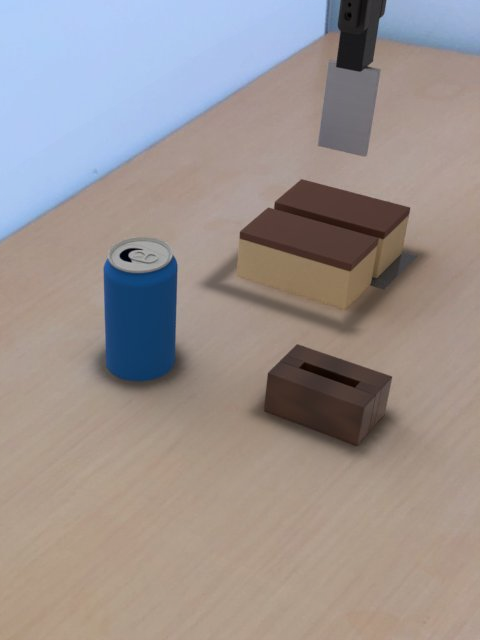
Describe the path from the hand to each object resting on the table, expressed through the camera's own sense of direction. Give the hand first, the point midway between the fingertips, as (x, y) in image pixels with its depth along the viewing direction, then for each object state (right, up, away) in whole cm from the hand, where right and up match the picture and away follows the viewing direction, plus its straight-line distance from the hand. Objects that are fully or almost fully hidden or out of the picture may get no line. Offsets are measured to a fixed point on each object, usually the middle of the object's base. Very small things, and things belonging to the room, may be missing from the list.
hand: (360, 23), depth 86 cm
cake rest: (+6, -8, +27) cm, 29 cm away
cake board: (+4, -11, +26) cm, 28 cm away
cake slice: (+2, -12, +24) cm, 27 cm away
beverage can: (-15, -23, +19) cm, 33 cm away
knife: (+1, -7, +8) cm, 10 cm away
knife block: (0, -29, +11) cm, 31 cm away
